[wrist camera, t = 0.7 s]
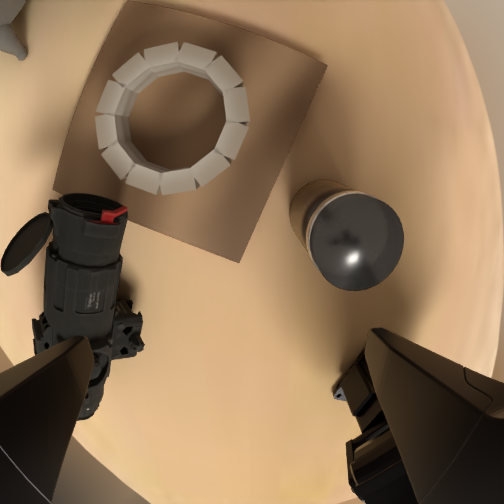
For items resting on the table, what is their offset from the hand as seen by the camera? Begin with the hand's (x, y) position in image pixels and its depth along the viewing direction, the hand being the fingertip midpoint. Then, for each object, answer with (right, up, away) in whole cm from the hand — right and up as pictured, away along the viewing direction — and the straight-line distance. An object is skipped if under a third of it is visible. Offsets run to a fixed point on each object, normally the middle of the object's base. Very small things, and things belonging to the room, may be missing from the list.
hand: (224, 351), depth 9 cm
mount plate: (-4, +11, +9) cm, 15 cm away
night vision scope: (-11, 0, +13) cm, 17 cm away
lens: (+6, +5, +12) cm, 14 cm away
